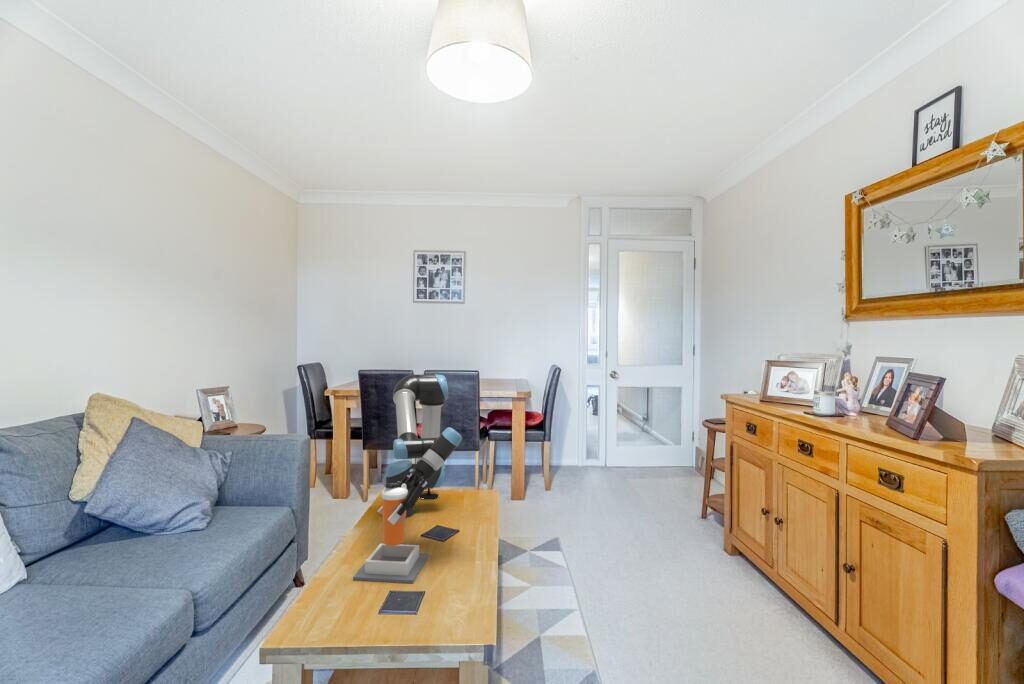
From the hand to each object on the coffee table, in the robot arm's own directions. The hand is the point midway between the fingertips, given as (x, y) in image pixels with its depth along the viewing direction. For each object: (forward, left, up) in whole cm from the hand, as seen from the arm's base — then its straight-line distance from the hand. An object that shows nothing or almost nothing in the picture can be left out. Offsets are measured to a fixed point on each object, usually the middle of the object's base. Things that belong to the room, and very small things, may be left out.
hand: (385, 517), depth 158 cm
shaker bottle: (-2, +2, -9) cm, 10 cm away
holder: (-3, +2, -18) cm, 18 cm away
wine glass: (-80, -5, -18) cm, 82 cm away
